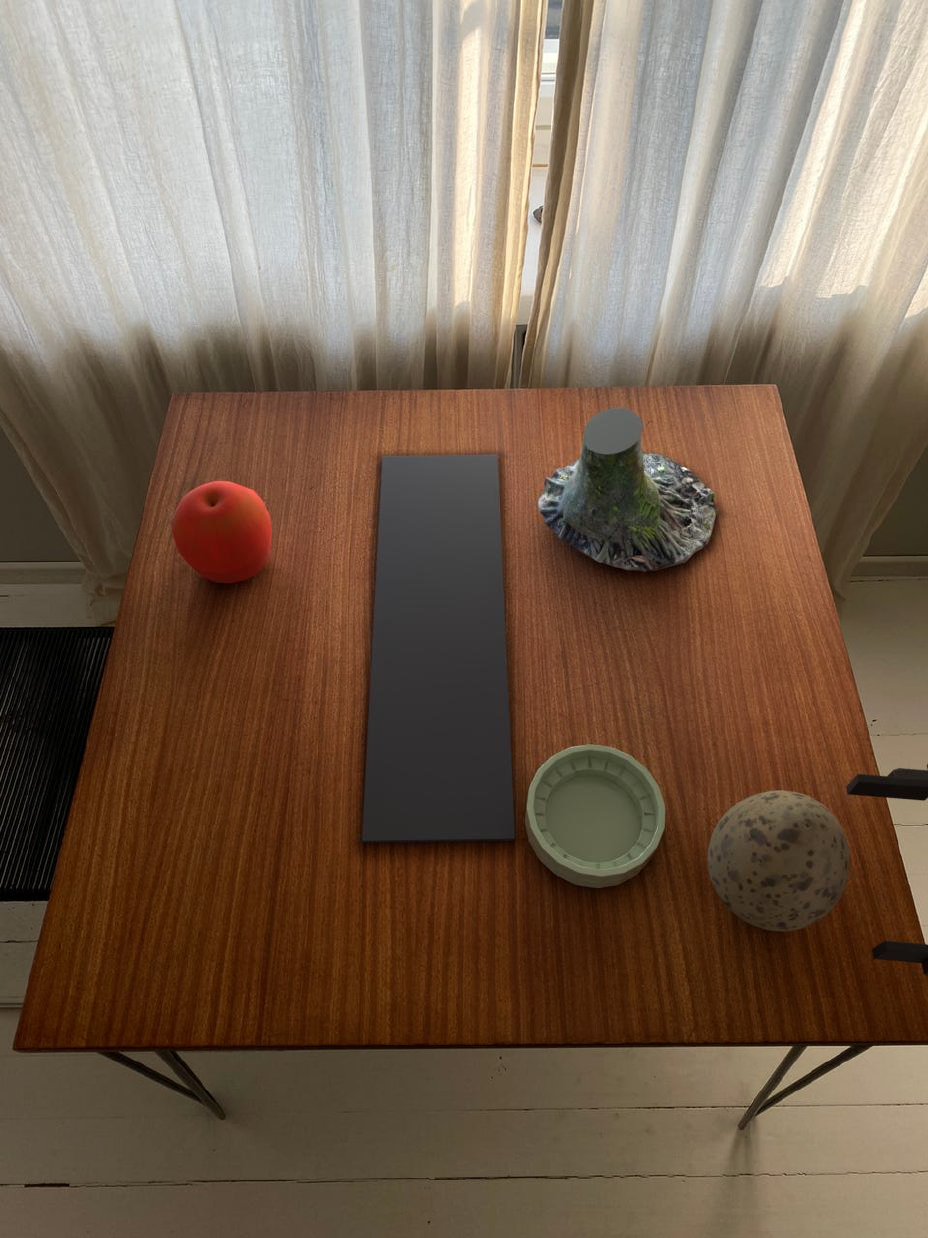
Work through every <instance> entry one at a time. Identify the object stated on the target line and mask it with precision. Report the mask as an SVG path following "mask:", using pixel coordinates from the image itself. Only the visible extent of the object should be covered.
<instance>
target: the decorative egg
mask: <svg viewBox="0 0 928 1238" xmlns="http://www.w3.org/2000/svg"><path fill="white" fill-rule="evenodd" d="M850 865H851V856H850V847H849V844H848V839H847V836H846V833H845V831H844V829H843V827H842V825H841V823H840V822H839V820H838V818H837V817H836V816H835V814H833V812H831V810H830V809H829V808H828V807H827V806H825V805H824V804H823V803H821V802H820V801H818V800H816V799H815V798H814V797H811V796H809V795H806V794H804V793H800V792H797V791H793V790H783V789H782V790H779V789H778V790H767V791H763V792H758V793H755V794H752V795H750V796H748V797H746V798H743V799H742V800H740V801H739V802H736V804H734V805H733V806H732V807H730V808H729V809H728V810H727V811H726V812H725V813H724V815H723V816H722V817H721V818H720V819H719V821H718V822H717V824H716V825H715V827H714V829H713V832H712V834H711V837H710V839H709V843H708V849H707V870H708V874H709V879H710V881H711V884H712V886H713V889H714V891H715V893H716V895H717V896H718V898H719V899H720V900H721V902H722V903H723V904H724V905H725V907H726V908H727V909H728V910H729V911H730V912H731V913H733V914H734V915H735V916H736V917H738V918H739V919H740V920H742V921H744V922H746V924H747V923H748V924H749V925H751V926H753V927H756V928H759V929H762V930H766V931H771V932H793V931H797V930H802V929H805V928H807V927H809V926H811V925H814V924H815V923H817V922H819V921H820V920H822V919H823V918H824V917H826V916H827V915H828V914H829V913H830V912H831V911H832V910H833V909H834V908H835V906H836V905H837V904H838V902H839V901H840V899H841V897H842V896H843V894H844V892H845V889H846V886H847V883H848V880H849V876H850V869H851V867H850Z"/></svg>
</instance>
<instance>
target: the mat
mask: <svg viewBox="0 0 928 1238" xmlns="http://www.w3.org/2000/svg"><path fill="white" fill-rule="evenodd" d="M499 476H500V475H499V455H498V454H444V455H443V454H440V455H439V454H438V455H437V454H432V455H431V454H430V455H383V456H382V457H381V475H380V493H379V495H380V496H379V512H378V514H379V515H378V531H377V532H378V533H377V551H376V568H375V569H376V570H375V584H374V585H375V587H374V606H373V622H372V623H373V624H372V642H371V643H372V645H371V661H370V663H371V664H370V680H369V681H370V682H369V698H368V699H369V700H368V718H367V737H366V756H365V774H364V791H363V792H364V793H363V794H364V795H363V811H362V812H363V813H362V829H361V830H362V831H361V843H362V844H401V843H403V844H406V843H407V844H408V843H409V844H411V843H463V842H464V843H472V842H473V843H475V842H478V843H480V842H515V841H516V827H515V825H516V824H515V807H514V806H515V805H514V804H515V803H514V786H513V785H514V782H513V781H514V780H513V761H512V741H511V739H512V738H511V737H512V736H511V718H510V716H511V715H510V697H509V673H508V655H507V654H508V653H507V651H508V650H507V631H506V630H507V629H506V607H505V588H504V587H505V586H504V563H503V545H502V544H503V543H502V542H503V541H502V522H501V520H502V519H501V501H500V479H499Z"/></svg>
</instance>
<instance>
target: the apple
mask: <svg viewBox="0 0 928 1238" xmlns="http://www.w3.org/2000/svg"><path fill="white" fill-rule="evenodd" d="M271 521H272V520H271V517H270V514H269V512H268V509H267V507H266V504H265V502H264V501H263V499H262V498H261V497H260V496H259V495H258V493H257V492H255V490H253V489H251V488H249V487H245V486H243V485H241V484H238V483H236V482H232V481H227V480H226V481H225V480H214V481H211V482H208V483H203V484H201V485H199V486H198V487H196V488H194V489H192V490H190V491H189V492H188V493H187V494H185V496H184V497H183V498H181V500H180V502H179V503H178V505H177V507H176V509H175V511H174V514H173V516H172V518H171V521H170V527H171V531H172V537H173V540H174V543H175V545H176V548H177V551H178V553H179V555H180V556H181V557H182V558H183V560H184V561H185V562H186V563H187V564H188V566H190V567H191V568H192V570H194V571H195V572H196V573H197V574H198V575H199V576H200V577H202V578H203V579H205V580H208V581H210V582H214V583H220V584H221V583H222V584H234V583H238V582H244V581H246V580H248V579H250V578H252V577H254V576H256V575H257V574H259V573H260V572H261V571H262V569H263V568H264V567H265V565H266V564H267V563H268V562H269V559H270V555H271V552H272V548H273V547H272V545H273V529H272V522H271Z"/></svg>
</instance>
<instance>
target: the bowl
mask: <svg viewBox="0 0 928 1238" xmlns="http://www.w3.org/2000/svg"><path fill="white" fill-rule="evenodd" d="M525 808H526V809H525V814H524V815H525V816H524V824H525V829H526V835H527V840H528V842H529V844H530V846H531V849H532V850H533V852H534V853H535V855H536V856H537V859H538V860H539V862H541V863H542V864H543V865H544V866H545V867H546V868H548V869H549V871H551V872H552V873H553V874H554V875H555V876H557V877H559V878H561V879H563V880H565V881H567V882H569V883H571V884H573V885H575V886H580V887H587V888H594V889H601V888H607V887H614V886H618V885H621V884H622V883H625V882H626V881H628V880H630V879H632V878H633V877H636V876H637V875H638V874H640V872H641V871H642V870H643V869H644V868H645V867H646V865H647V864H648V863H650V862H651V859H652V858H653V856H654V854H655V852H656V850H657V849H658V847H659V844H660V841H661V839H662V837H663V834H664V831H665V828H666V805H665V800H664V797H663V794H662V791H661V787H660V785H659V784H658V783H657V782H656V780H655V779H654V777H653V775H652V774H651V772H650V771H649V770H648V768H647V767H645V766H644V765H643V764H641V762H639V761H638V760H637V759H636V758H634V757H633V756H632V755H630V754H628V753H626V752H623V751H621V750H619V749H617V748H615V747H612V746H607V745H599V744H583V745H576V746H570V747H568V748H566V749H564V750H561V751H560V752H557V753H555V754H553V755H552V756H551V757H549V758H548V759H547V760H546V761H545V762H544V763H543V764H542V765H541V766H540V767H539V768H538V769H537V770H536V773H535V775H534V777H533V779H532V781H531V783H530V785H529V786H528V793H527V800H526V807H525Z"/></svg>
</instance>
